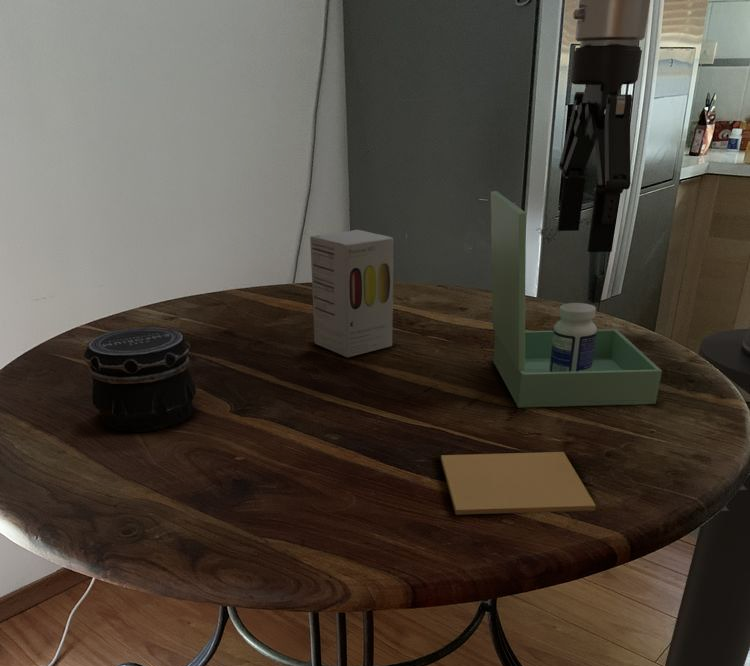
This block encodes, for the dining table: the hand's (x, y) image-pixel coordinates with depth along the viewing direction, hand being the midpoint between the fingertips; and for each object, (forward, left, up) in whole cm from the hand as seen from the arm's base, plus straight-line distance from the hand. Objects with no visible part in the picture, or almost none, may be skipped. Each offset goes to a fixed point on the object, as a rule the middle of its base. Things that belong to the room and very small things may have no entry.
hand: (582, 240), depth 94 cm
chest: (-1, 0, -19) cm, 19 cm away
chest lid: (+9, 0, -5) cm, 10 cm away
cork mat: (+13, +29, -19) cm, 37 cm away
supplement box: (+29, -18, -19) cm, 40 cm away
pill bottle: (-1, 0, -19) cm, 19 cm away
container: (+56, +8, -19) cm, 60 cm away
